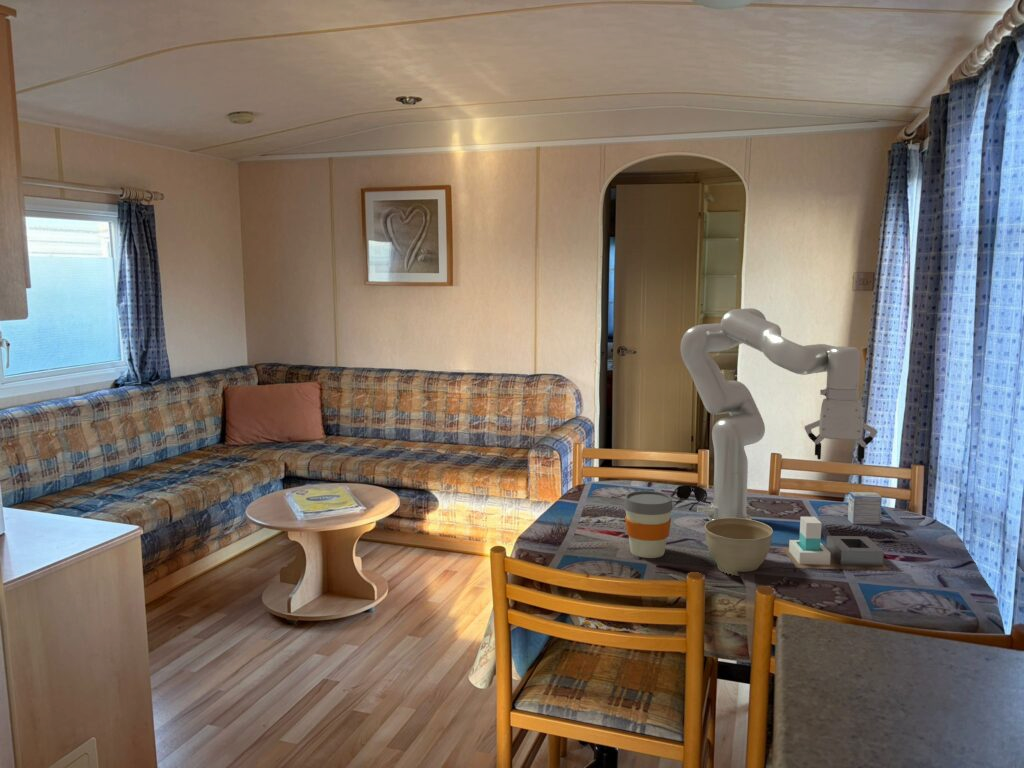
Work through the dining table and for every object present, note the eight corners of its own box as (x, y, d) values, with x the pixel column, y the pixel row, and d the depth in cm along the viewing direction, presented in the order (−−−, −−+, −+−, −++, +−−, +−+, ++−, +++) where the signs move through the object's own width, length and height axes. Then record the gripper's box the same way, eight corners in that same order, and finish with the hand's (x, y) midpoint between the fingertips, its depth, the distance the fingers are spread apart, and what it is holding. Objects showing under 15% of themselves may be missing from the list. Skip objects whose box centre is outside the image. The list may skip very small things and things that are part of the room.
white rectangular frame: (799, 563, 184) (799, 552, 184) (789, 551, 193) (789, 539, 192) (829, 564, 184) (830, 553, 183) (818, 551, 192) (818, 540, 192)
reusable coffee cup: (635, 563, 190) (636, 506, 188) (616, 546, 202) (616, 492, 200) (680, 557, 193) (681, 502, 191) (658, 541, 205) (659, 488, 203)
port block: (840, 566, 183) (841, 550, 182) (826, 550, 193) (827, 535, 192) (882, 566, 182) (883, 551, 181) (866, 551, 192) (866, 536, 191)
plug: (804, 561, 186) (806, 522, 184) (798, 553, 191) (800, 516, 189) (819, 561, 186) (821, 523, 184) (813, 554, 190) (814, 516, 189)
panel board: (796, 573, 182) (797, 567, 182) (780, 552, 196) (781, 547, 195) (889, 575, 180) (890, 569, 180) (866, 554, 194) (867, 548, 194)
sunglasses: (708, 501, 241) (708, 487, 239) (697, 516, 231) (696, 501, 230) (677, 496, 246) (677, 482, 245) (664, 511, 237) (664, 496, 235)
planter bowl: (719, 552, 196) (720, 513, 195) (780, 567, 186) (782, 525, 184) (692, 571, 184) (693, 529, 182) (756, 588, 174) (757, 544, 172)
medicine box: (874, 520, 221) (876, 492, 219) (880, 525, 216) (882, 496, 215) (847, 519, 221) (848, 491, 220) (852, 524, 217) (854, 496, 216)
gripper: (806, 395, 190) (803, 460, 193) (880, 398, 184) (877, 465, 187) (805, 391, 197) (803, 454, 200) (877, 394, 191) (873, 458, 194)
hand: (838, 459), depth 193 cm, fingers open, 9 cm apart
